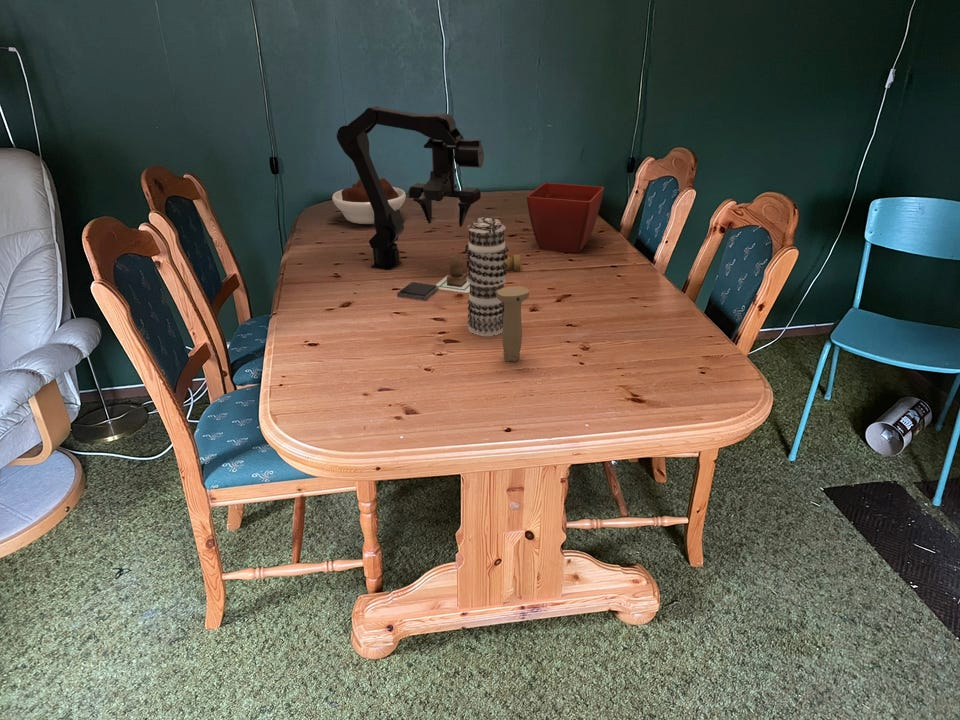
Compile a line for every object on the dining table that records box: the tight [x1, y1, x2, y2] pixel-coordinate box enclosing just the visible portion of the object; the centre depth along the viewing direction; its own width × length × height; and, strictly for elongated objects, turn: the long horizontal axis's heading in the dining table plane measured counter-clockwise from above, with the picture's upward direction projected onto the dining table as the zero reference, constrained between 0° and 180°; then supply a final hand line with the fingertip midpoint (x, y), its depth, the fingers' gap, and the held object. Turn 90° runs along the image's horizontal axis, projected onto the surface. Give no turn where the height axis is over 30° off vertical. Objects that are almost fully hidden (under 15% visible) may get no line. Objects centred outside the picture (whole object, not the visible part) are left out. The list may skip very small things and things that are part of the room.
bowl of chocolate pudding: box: [331, 177, 407, 225], centre depth 221 cm, size 25×25×15 cm
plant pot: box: [526, 182, 605, 254], centre depth 195 cm, size 19×19×17 cm
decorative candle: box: [464, 216, 509, 337], centre depth 140 cm, size 9×9×25 cm
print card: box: [435, 274, 470, 295], centre depth 170 cm, size 10×10×1 cm
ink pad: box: [396, 281, 439, 302], centre depth 165 cm, size 8×8×1 cm
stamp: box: [446, 254, 468, 287], centre depth 168 cm, size 4×4×7 cm
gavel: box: [503, 254, 522, 272], centre depth 187 cm, size 21×5×10 cm
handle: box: [497, 285, 530, 363], centre depth 129 cm, size 5×6×15 cm
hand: (445, 224), depth 174 cm, fingers open, 9 cm apart
